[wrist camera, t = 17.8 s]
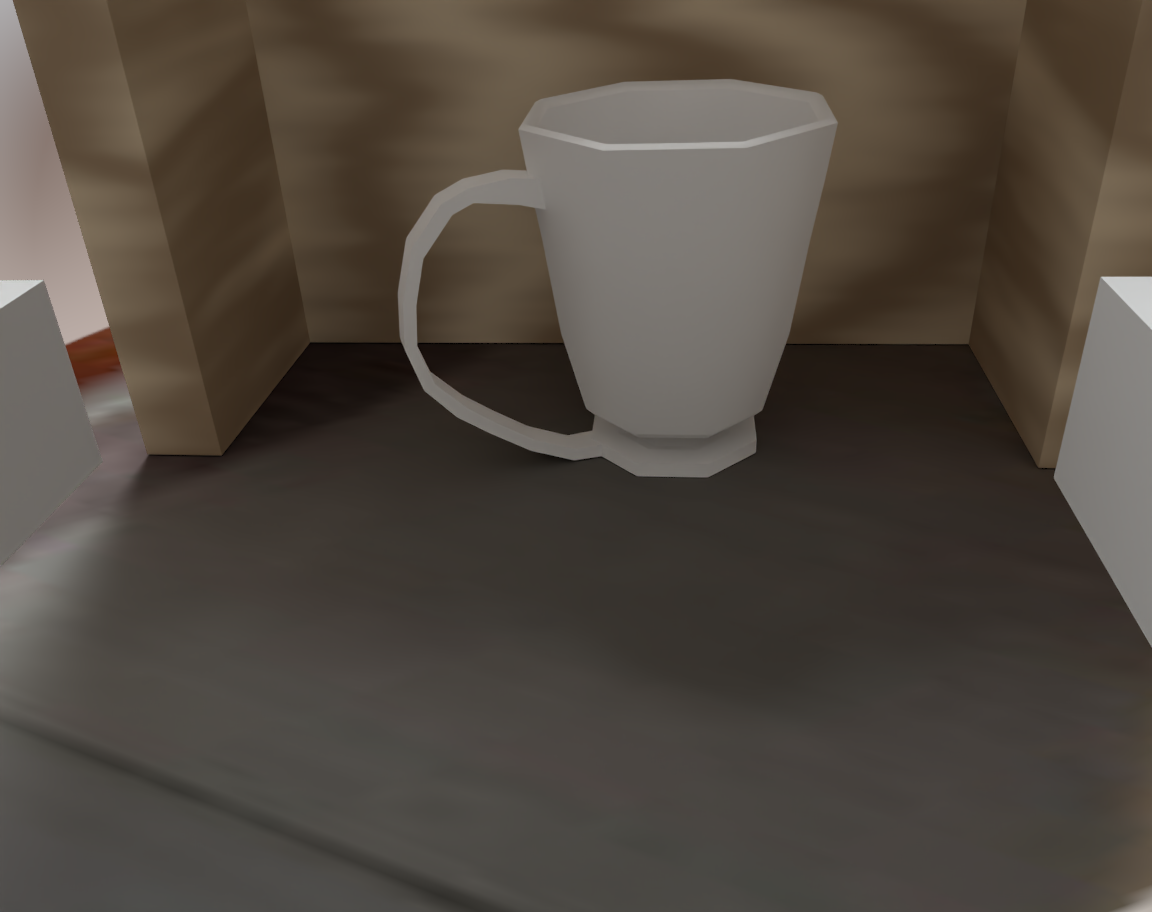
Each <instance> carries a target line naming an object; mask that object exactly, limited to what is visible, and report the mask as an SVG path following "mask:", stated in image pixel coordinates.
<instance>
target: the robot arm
mask: <svg viewBox="0 0 1152 912" xmlns="http://www.w3.org/2000/svg"><path fill="white" fill-rule="evenodd" d="M102 462H103V461H102V458H101V455H100V452H99V449H98V446H97V443H96V440H95V437H94V434H93V431H92V427H91V424H90V421H89V418H88V415H87V412H86V409H85V406H84V403H83V400H82V397H81V393H80V390H79V387H78V384H77V381H76V378H75V375H74V372H73V369H72V366H71V363H70V360H69V356H68V353H67V350H66V347H65V344H64V341H63V338H62V335H61V332H60V329H59V326H58V322H57V319H56V317H55V313H54V310H53V307H52V304H51V301H50V298H49V295H48V292H47V288H46V286H45V283H44V280H0V567H1V566H2V565H3V564H4V563H5V562H6V561H7V560H8V558H9V557H10V556H11V555H12V554H13V553H14V552H15V551H16V550H17V549H18V548H19V547H20V546H21V545H22V544H23V543H24V542H25V541H26V540H27V539H28V538H29V537H30V536H31V535H32V534H33V533H34V532H35V531H36V530H37V529H38V528H39V527H40V526H41V525H42V524H43V523H44V521H45V520H46V519H47V518H48V517H49V516H50V515H51V514H52V513H53V512H54V511H55V510H56V509H57V508H58V507H59V506H60V505H61V504H62V503H63V502H64V501H65V500H66V499H67V498H68V497H69V496H70V495H71V494H72V493H73V492H74V491H75V490H76V489H77V488H78V487H79V485H80V484H81V483H82V482H83V481H84V480H85V479H86V478H87V477H88V476H89V475H90V474H91V473H92V472H93V471H94V470H95V469H96V468H97V467H98V466H99V465H100V464H101V463H102ZM1054 479H1055V481H1056V483H1057V485H1058V486H1059V488H1060V490H1061V492H1062V493H1063V495H1064V497H1065V498H1066V500H1067V502H1068V504H1069V505H1070V507H1071V509H1072V511H1073V512H1074V514H1075V516H1076V517H1077V519H1078V521H1079V523H1080V524H1081V526H1082V528H1083V530H1084V531H1085V533H1086V535H1087V536H1088V538H1089V540H1090V542H1091V543H1092V545H1093V547H1094V549H1095V550H1096V552H1097V554H1098V556H1099V557H1100V559H1101V561H1102V562H1103V564H1104V566H1105V568H1106V569H1107V571H1108V573H1109V575H1110V576H1111V578H1112V580H1113V581H1114V583H1115V585H1116V587H1117V588H1118V590H1119V592H1120V594H1121V595H1122V597H1123V599H1124V600H1125V602H1126V604H1127V606H1128V607H1129V609H1130V611H1131V613H1132V614H1133V616H1134V618H1135V620H1136V621H1137V623H1138V625H1139V626H1140V628H1141V630H1142V632H1143V633H1144V635H1145V637H1146V639H1147V640H1148V642H1149V644H1150V645H1151V647H1152V277H1100V281H1099V285H1098V290H1097V294H1096V298H1095V303H1094V307H1093V311H1092V315H1091V320H1090V324H1089V328H1088V333H1087V337H1086V341H1085V345H1084V350H1083V354H1082V358H1081V363H1080V367H1079V371H1078V375H1077V380H1076V384H1075V388H1074V393H1073V397H1072V401H1071V405H1070V410H1069V414H1068V418H1067V423H1066V427H1065V431H1064V435H1063V440H1062V444H1061V448H1060V452H1059V457H1058V461H1057V465H1056V470H1055V474H1054Z"/></svg>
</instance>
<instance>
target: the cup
mask: <svg viewBox="0 0 1152 912" xmlns="http://www.w3.org/2000/svg"><path fill="white" fill-rule="evenodd" d="M837 125H838V122H837V120H836V118H835V117H834V115H833V113H832V111H831V109H830V107H829V106H828V104H827V102H826V100H825V98H824V97H823V95H821V94H819V93H817V92H811V91H805V90H798V89H792V88H786V87H779V86H773V85H767V84H760V83H754V82H747V81H741V80H735V79H710V80H671V81H632V82H621V83H616V84H611V85H606V86H601V87H596V88H591V89H587V90H582V91H577V92H572V93H567V94H562V95H558V96H553V97H548V98H543V99H540V100H538V101H536V102H535V103H534V105H533V106H532V108H531V110H530V111H529V113H528V114H527V116H526V118H525V119H524V121H523V122H522V124H521V126H520V127H519V129H518V131H519V135H520V140H521V145H522V150H523V155H524V160H525V165H526V169H527V170H504V169H503V170H498V171H494V172H490V173H485V174H481V175H477V176H472V177H468V178H464V179H461V180H459V181H458V182H456V183H454V184H453V185H451V186H449V187H447V188H446V189H444V190H442V191H440V192H439V193H437V194H435V195H434V196H433V198H432V199H431V201H430V203H429V204H428V206H427V207H426V209H425V210H424V212H423V213H422V215H421V216H420V218H419V219H418V221H417V222H416V224H415V225H414V227H413V228H412V230H411V231H410V233H409V235H408V236H407V238H406V242H405V248H404V255H403V261H402V268H401V274H400V281H399V287H398V310H399V331H400V339H401V342H402V344H403V347H404V349H405V352H406V354H407V356H408V358H409V360H410V362H411V364H412V366H413V369H414V371H415V373H416V375H417V377H418V379H419V381H420V383H421V385H422V387H423V389H424V391H425V392H427V393H428V394H429V395H430V396H431V397H433V398H434V399H435V400H436V401H438V402H439V403H440V404H441V405H443V406H444V407H445V408H446V409H447V410H449V411H450V412H451V413H452V414H454V415H455V416H456V417H457V418H459V419H461V420H464V421H466V422H468V423H470V424H472V425H474V426H476V427H478V428H480V429H482V430H484V431H486V432H488V433H490V434H493V435H495V436H497V437H500V438H502V439H504V440H507V441H509V442H511V443H514V444H516V445H519V446H521V447H523V448H526V449H528V450H530V451H534V452H539V453H543V454H548V455H552V456H557V457H561V458H566V459H570V460H580V459H586V458H593V457H599V456H602V457H604V458H606V459H607V460H609V461H611V462H613V463H614V464H616V465H618V466H620V467H621V468H623V469H625V470H627V471H629V472H630V473H632V474H634V475H636V476H649V477H710V476H712V475H714V474H716V473H717V472H719V471H721V470H723V469H725V468H727V467H729V466H731V465H733V464H735V463H737V462H739V461H741V460H743V459H745V458H747V457H748V456H750V455H752V454H754V453H756V443H757V438H756V429H755V421H754V415H756V414H757V413H759V412H760V411H762V410H763V407H764V404H765V401H766V398H767V396H768V393H769V390H770V387H771V384H772V381H773V379H774V376H775V373H776V370H777V367H778V364H779V362H780V359H781V356H782V353H783V350H784V347H785V345H786V342H787V339H788V336H789V333H790V329H791V324H792V320H793V315H794V311H795V306H796V302H797V297H798V293H799V288H800V284H801V279H802V275H803V270H804V265H805V261H806V256H807V252H808V247H809V243H810V238H811V234H812V230H813V226H814V222H815V218H816V214H817V210H818V206H819V202H820V198H821V194H822V190H823V186H824V182H825V178H826V173H827V169H828V164H829V160H830V156H831V151H832V147H833V142H834V138H835V133H836V129H837ZM473 203H484V204H507V205H522V206H528V207H533V208H535V211H536V215H537V219H538V224H539V228H540V232H541V237H542V241H543V246H544V251H545V256H546V261H547V266H548V271H549V276H550V281H551V286H552V291H553V296H554V301H555V306H556V311H557V316H558V321H559V326H560V331H561V335H562V338H563V341H564V344H565V347H566V350H567V353H568V356H569V359H570V362H571V365H572V368H573V371H574V374H575V377H576V380H577V383H578V386H579V389H580V392H581V395H582V398H583V401H584V404H585V407H586V409H587V410H589V411H590V412H592V413H593V414H595V417H594V423H593V429H592V431H587V432H582V433H577V434H572V435H564V434H560V433H555V432H551V431H547V430H542V429H538V428H534V427H530V426H526V425H524V424H522V423H520V422H517V421H515V420H513V419H511V418H509V417H506V416H504V415H502V414H500V413H497V412H495V411H493V410H491V409H489V408H487V407H485V406H483V405H481V404H479V403H477V402H475V401H473V400H471V399H469V398H467V397H465V396H463V395H461V394H460V393H459V392H457V391H456V390H455V389H453V388H452V387H451V386H449V385H448V384H446V383H445V382H444V381H442V380H441V379H440V378H438V377H437V376H436V375H434V374H433V373H431V372H430V370H429V368H428V366H427V364H426V362H425V360H424V358H423V356H422V354H421V352H420V350H419V348H418V346H417V314H416V304H417V298H418V291H419V284H420V278H421V271H422V264H423V259H424V257H425V256H426V254H427V253H428V251H429V250H430V248H431V247H432V245H433V244H434V242H435V240H436V239H437V237H438V236H439V234H440V233H441V231H442V230H443V228H444V227H445V225H446V224H447V222H448V221H449V219H450V218H451V216H452V215H453V214H455V213H457V212H459V211H460V210H462V209H464V208H466V207H467V206H469V205H471V204H473Z"/></svg>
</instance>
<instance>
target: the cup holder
mask: <svg viewBox="0 0 1152 912" xmlns="http://www.w3.org/2000/svg"><path fill="white" fill-rule="evenodd" d="M13 2H14V6H15V9H16V13H17V16H18V19H19V23H20V26H21V29H22V33H23V36H24V39H25V43H26V47H27V50H28V53H29V57H30V60H31V63H32V67H33V70H34V73H35V77H36V80H37V84H38V87H39V90H40V94H41V97H42V100H43V104H44V107H45V111H46V114H47V117H48V121H49V124H50V127H51V131H52V134H53V137H54V141H55V144H56V148H57V151H58V154H59V158H60V161H61V164H62V168H63V171H64V175H65V178H66V181H67V185H68V188H69V191H70V194H71V198H72V201H73V205H74V208H75V211H76V215H77V218H78V222H79V225H80V228H81V232H82V235H83V239H84V242H85V245H86V249H87V252H88V256H89V259H90V262H91V266H92V269H93V272H94V275H95V279H96V282H97V286H98V289H99V292H100V296H101V299H102V303H103V306H104V309H105V313H106V316H107V320H108V323H109V326H110V330H111V333H112V336H113V340H114V343H115V347H116V350H117V353H118V357H119V360H120V363H121V367H122V370H123V374H124V377H125V380H126V384H127V387H128V390H129V394H130V397H131V400H132V404H133V407H134V411H135V414H136V417H137V421H138V424H139V427H140V431H141V434H142V438H143V441H144V444H145V448H146V451H147V454H163V455H223V453H224V452H225V451H226V449H227V448H228V447H229V446H230V444H231V443H232V442H233V441H234V439H235V438H236V437H237V435H238V434H239V433H240V432H241V430H242V429H243V428H244V426H245V425H246V424H247V423H248V421H249V420H250V419H251V417H252V416H253V415H254V414H255V412H256V411H257V410H258V409H259V407H260V406H261V405H262V403H263V402H264V401H265V400H266V398H267V397H268V396H269V394H270V393H271V392H272V391H273V389H274V388H275V387H276V386H277V384H278V383H279V382H280V380H281V379H282V378H283V377H284V375H285V374H286V373H287V371H288V370H289V369H290V368H291V366H292V365H293V364H294V362H295V361H296V360H297V359H298V357H299V356H300V355H301V354H302V352H303V351H304V350H305V348H306V347H307V346H308V345H309V343H310V342H371V343H402V342H401V339H400V331H399V310H398V287H399V281H400V274H401V268H402V261H403V255H404V248H405V242H406V238H407V236H408V235H409V233H410V231H411V230H412V228H413V227H414V225H415V224H416V222H417V221H418V219H419V218H420V216H421V215H422V213H423V212H424V210H425V209H426V207H427V206H428V204H429V203H430V201H431V199H432V198H433V196H434V195H435V194H437V193H439V192H440V191H442V190H444V189H446V188H447V187H449V186H451V185H453V184H454V183H456V182H458V181H459V180H461V179H464V178H468V177H472V176H477V175H481V174H485V173H490V172H494V171H498V170H503V169H504V170H527V169H526V165H525V160H524V155H523V150H522V145H521V140H520V135H519V131H518V129H519V127H520V126H521V124H522V122H523V121H524V119H525V118H526V116H527V114H528V113H529V111H530V110H531V108H532V106H533V105H534V103H535V102H536V101H538V100H540V99H543V98H548V97H553V96H558V95H562V94H567V93H572V92H577V91H582V90H587V89H591V88H596V87H601V86H606V85H611V84H616V83H621V82H632V81H671V80H710V79H735V80H741V81H747V82H754V83H760V84H767V85H773V86H779V87H786V88H792V89H798V90H805V91H811V92H817V93H819V94H821V95H823V97H824V98H825V100H826V102H827V104H828V106H829V107H830V109H831V111H832V113H833V115H834V117H835V118H836V120H837V122H838V125H837V129H836V133H835V138H834V142H833V147H832V151H831V156H830V160H829V164H828V169H827V173H826V178H825V182H824V186H823V190H822V194H821V198H820V202H819V206H818V210H817V214H816V218H815V222H814V226H813V230H812V234H811V238H810V243H809V247H808V252H807V256H806V261H805V265H804V270H803V275H802V279H801V284H800V288H799V293H798V297H797V302H796V306H795V311H794V315H793V320H792V324H791V329H790V333H789V336H788V339H787V342H786V344H969V346H970V348H971V350H972V351H973V353H974V355H975V357H976V358H977V360H978V362H979V364H980V365H981V367H982V369H983V371H984V373H985V374H986V376H987V378H988V380H989V381H990V383H991V385H992V387H993V388H994V390H995V392H996V394H997V396H998V397H999V399H1000V401H1001V403H1002V404H1003V406H1004V408H1005V410H1006V412H1007V413H1008V415H1009V417H1010V419H1011V420H1012V422H1013V424H1014V426H1015V427H1016V429H1017V431H1018V433H1019V435H1020V436H1021V438H1022V440H1023V442H1024V443H1025V445H1026V447H1027V449H1028V450H1029V452H1030V454H1031V456H1032V458H1033V459H1034V461H1035V463H1036V465H1037V466H1038V468H1056V465H1057V461H1058V457H1059V452H1060V448H1061V444H1062V440H1063V435H1064V431H1065V427H1066V423H1067V418H1068V414H1069V410H1070V405H1071V401H1072V397H1073V393H1074V388H1075V384H1076V380H1077V375H1078V371H1079V367H1080V363H1081V358H1082V354H1083V350H1084V345H1085V341H1086V337H1087V333H1088V328H1089V324H1090V320H1091V315H1092V311H1093V307H1094V303H1095V298H1096V294H1097V290H1098V285H1099V281H1100V277H1152V0H13ZM416 314H417V343H564V341H563V338H562V335H561V331H560V326H559V321H558V316H557V311H556V306H555V301H554V296H553V291H552V286H551V281H550V276H549V271H548V266H547V261H546V256H545V251H544V246H543V241H542V237H541V232H540V228H539V224H538V219H537V215H536V211H535V208H533V207H528V206H522V205H507V204H484V203H473V204H471V205H469V206H467V207H466V208H464V209H462V210H460V211H459V212H457V213H455V214H453V215H452V216H451V218H450V219H449V221H448V222H447V224H446V225H445V227H444V228H443V230H442V231H441V233H440V234H439V236H438V237H437V239H436V240H435V242H434V244H433V245H432V247H431V248H430V250H429V251H428V253H427V254H426V256H425V257H424V259H423V264H422V271H421V278H420V284H419V291H418V298H417V304H416Z"/></svg>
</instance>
